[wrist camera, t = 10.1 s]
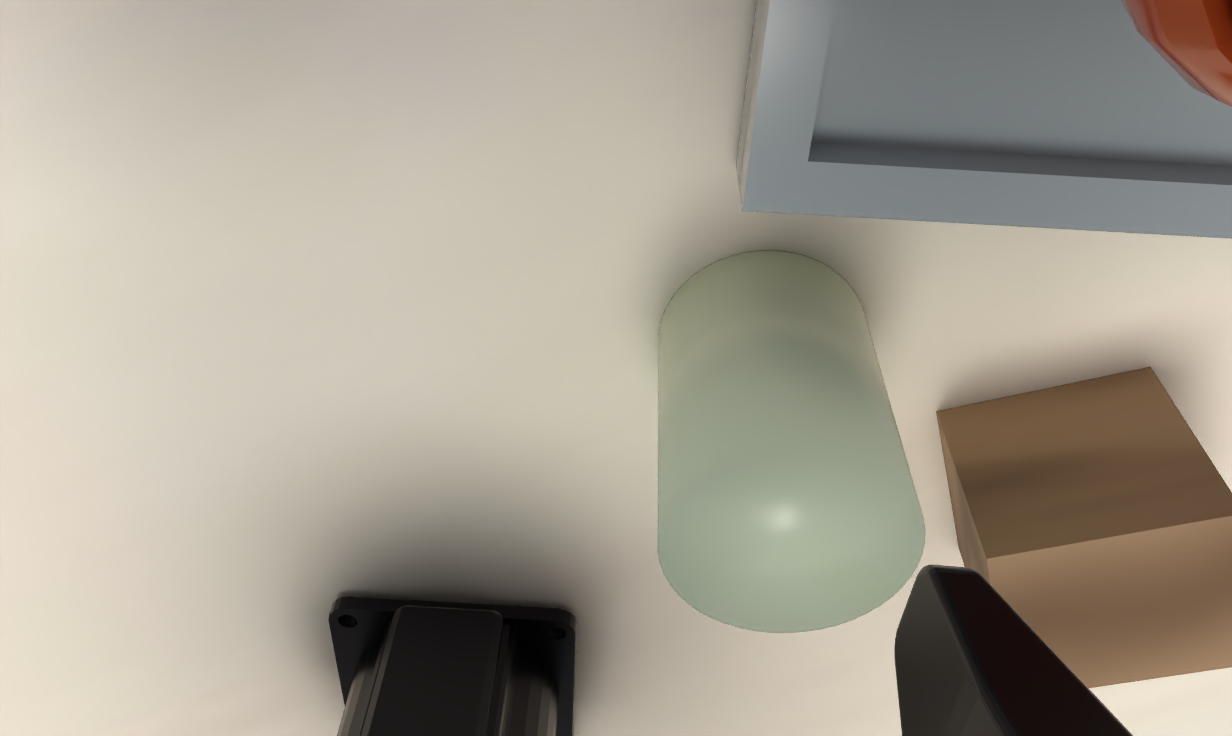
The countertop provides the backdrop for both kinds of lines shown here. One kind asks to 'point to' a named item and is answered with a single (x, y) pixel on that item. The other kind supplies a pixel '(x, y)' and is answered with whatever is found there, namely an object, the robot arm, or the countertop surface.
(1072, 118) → the dish
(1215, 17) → the tomato
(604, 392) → the countertop surface
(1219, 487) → the walnut block
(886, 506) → the sage green capsule
